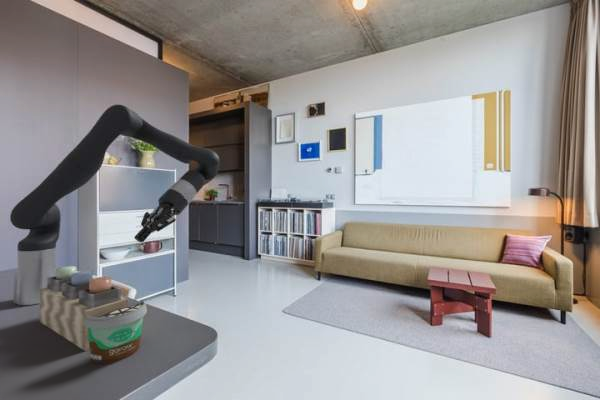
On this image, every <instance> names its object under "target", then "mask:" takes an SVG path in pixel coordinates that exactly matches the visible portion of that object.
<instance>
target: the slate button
mask: <svg viewBox="0 0 600 400" xmlns="http://www.w3.org/2000/svg"><path fill="white" fill-rule="evenodd" d="M91 279H94V273H93V271H92V270H91V271H90V270H87V271H86V270H84V271H83V270H82V271H78V272H77V271H76V273H73V274H72V283H71V286H73V287H77V286H82V285H86V284H89V281H90V280H91Z"/></svg>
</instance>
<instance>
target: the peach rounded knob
mask: <svg viewBox="0 0 600 400" xmlns="http://www.w3.org/2000/svg"><path fill="white" fill-rule="evenodd" d="M111 285H112V277H111V276H100V277H95V278H94V277H93V279H91V280H90V281H89V293H91V294H97V293H101V292H105V291H109V290H111Z"/></svg>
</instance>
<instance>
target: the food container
mask: <svg viewBox="0 0 600 400" xmlns="http://www.w3.org/2000/svg"><path fill="white" fill-rule="evenodd" d="M147 312H148V310H147V305H146V303H145V300H144V299H141V300H140V303H138V304H134V305H131V306H128V307H126V308H120V309H116V310H113V311H111V312H109V313H107V314H104V315H101V316H98V317H90V316H87V318H86V319H85V322H84V327H87V328H88V336H89V345H90V350H89V351H90V353H89V354H90V361H91V362H93V363H94V364H96V363H97V364H109V363H115V362H119V361H122V360H124V359H125V360H126V359H127V358H129V357H131V356H133V355H134V354H135V353H137V352H138V350H139V349H140V345H141V339H142V337H141V336H142V329H143V320H144V316H145V315H146V314H147Z"/></svg>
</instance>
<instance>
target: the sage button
mask: <svg viewBox="0 0 600 400" xmlns="http://www.w3.org/2000/svg"><path fill="white" fill-rule="evenodd" d="M77 270H78V269H77V266H76V265H69V266H62V267H58V268H57V267H56V273H55V276H56V280H58V281H59V280H64V279H69V278H72V274H73V273H77Z"/></svg>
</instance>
